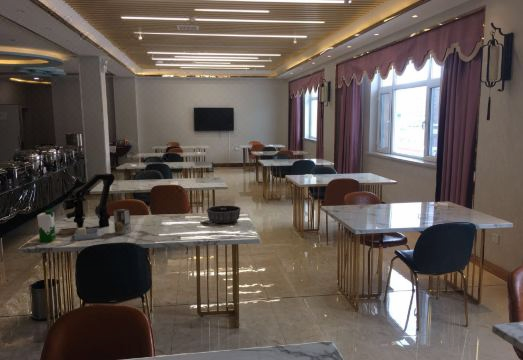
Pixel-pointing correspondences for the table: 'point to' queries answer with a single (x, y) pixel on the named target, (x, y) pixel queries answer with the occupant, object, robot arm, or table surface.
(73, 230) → the walnut caddy
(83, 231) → the tan rectangular block
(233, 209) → the bundt pan
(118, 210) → the coffee box
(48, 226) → the milk carton
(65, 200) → the robot arm
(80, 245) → the table surface
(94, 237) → the slate bin
